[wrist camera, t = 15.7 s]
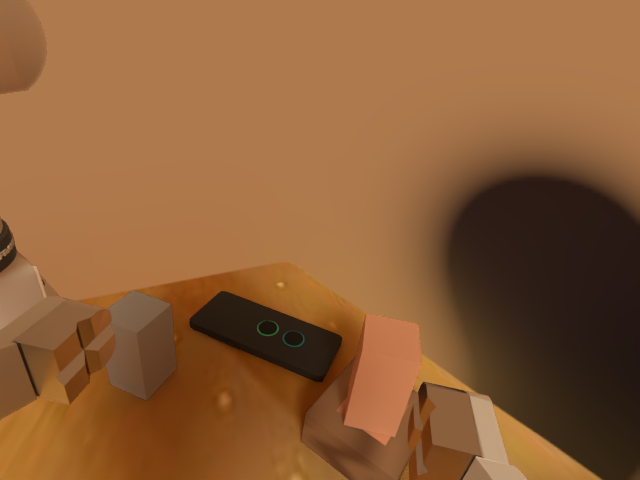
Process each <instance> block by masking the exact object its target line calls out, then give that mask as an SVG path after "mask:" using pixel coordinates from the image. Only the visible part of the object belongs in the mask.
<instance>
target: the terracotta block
mask: <svg viewBox="0 0 640 480" xmlns="http://www.w3.org/2000/svg"><path fill="white" fill-rule="evenodd" d="M421 365H422V359H421V348H420V337H419V327H418V324H415V323H410V322H406V321H401V320H397V319H392V318H387V317H383V316H378V315H373V314H368V313H366V316H365V320H364V324H363V328H362V332H361V336H360V341H359V345H358V349H357V353H356V357H355V361H354V365H353V369H352V374H351V378H350V382H349V388H348V395H347V403H346V411H345V418H344V425H346V426H350V427H354V428H358V429H363V430H367V431H371V432H375V433H379V434H383V435H387V436H391V437H395V436H396V433H397V430H398V427H399V425H400V422H401V419H402V416H403V414H404V411H405V408H406V406H407V403H408V400H409V397H410V395H411V392H412V389H413V387H414V384H415V381H416V378H417V376H418V373H419V370H420V367H421Z"/></svg>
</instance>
